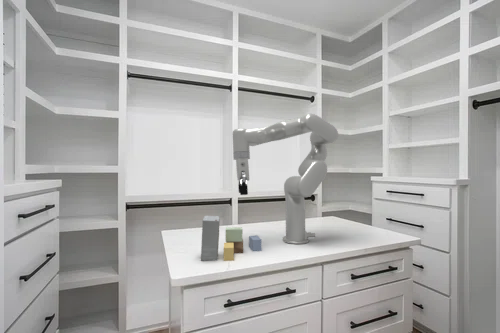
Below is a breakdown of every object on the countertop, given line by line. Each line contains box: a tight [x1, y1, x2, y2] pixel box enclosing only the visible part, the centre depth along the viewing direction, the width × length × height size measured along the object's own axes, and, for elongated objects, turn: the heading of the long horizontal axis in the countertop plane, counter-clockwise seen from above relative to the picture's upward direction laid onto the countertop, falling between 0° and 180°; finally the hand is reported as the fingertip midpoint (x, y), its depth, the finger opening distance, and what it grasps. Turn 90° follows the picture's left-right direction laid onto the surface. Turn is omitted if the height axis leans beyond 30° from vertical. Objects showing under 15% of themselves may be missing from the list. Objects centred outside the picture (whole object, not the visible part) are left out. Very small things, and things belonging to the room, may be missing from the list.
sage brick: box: [225, 226, 243, 243], centre depth 107 cm, size 7×4×5 cm, turn 94°
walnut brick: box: [225, 238, 244, 255], centre depth 107 cm, size 7×4×5 cm, turn 95°
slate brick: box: [248, 234, 263, 252], centre depth 111 cm, size 7×4×5 cm, turn 14°
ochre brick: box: [223, 242, 235, 262], centre depth 100 cm, size 7×4×5 cm, turn 5°
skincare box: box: [200, 215, 221, 262], centre depth 100 cm, size 8×7×16 cm
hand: (243, 193), depth 115 cm, fingers open, 9 cm apart
